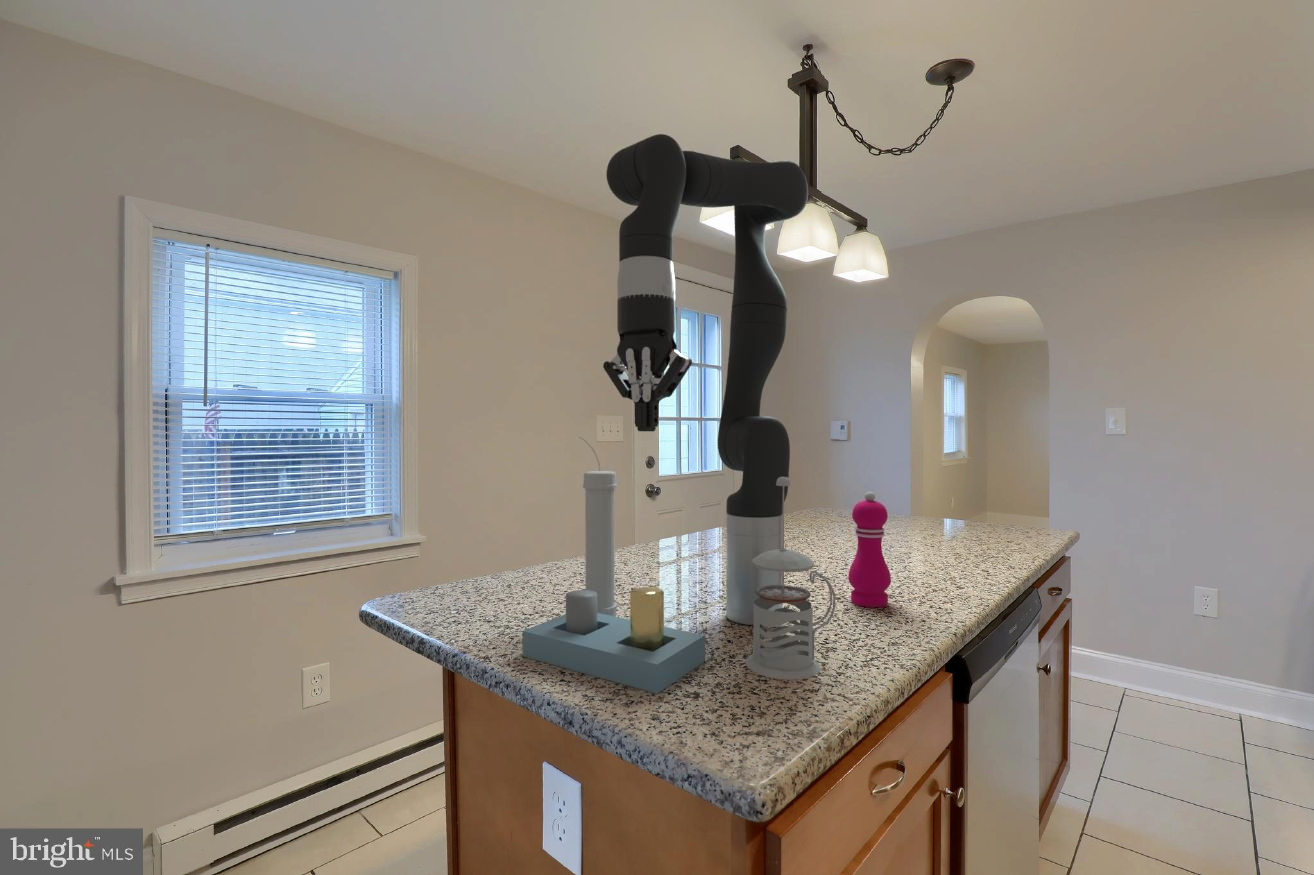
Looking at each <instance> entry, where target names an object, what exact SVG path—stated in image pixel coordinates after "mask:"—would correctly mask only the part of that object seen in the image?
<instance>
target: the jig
mask: <svg viewBox="0 0 1314 875" xmlns="http://www.w3.org/2000/svg"><path fill="white" fill-rule="evenodd" d="M522 657H524V658H527V657H528V659H532V660H534V659H535V660H534V661H538V662H542V663H546V664H549V665H552V666H556V667H561V668H563V669H568V670H570V671H575V672H577V673H582V674H585V675H589V676H592V677H595V678H599V679H603V680H606V681H610V682H613V683H618V684H621V685H625V686H628V687H631V688H635V689H638V690H642V691H646V692H650V693H654V694H657V695H658V694H659V693H661V692H662V691H664V690H665V689H667V688H668V687H669V686H671V685H672V684H674V683H675V682H677V681H678V680H680V679H681V678H683V677H684V676H685V675H687V674H689V673H690V672H691V671H693V670H695V668H697V667H698V666H700V665H702V664H703V663H704V662H706V634H701V633H695V632H692V631H686V630H683V629H676V628H673V627H667V626H664V646H662V647H661V648H659V649H657V650H655V651H654V652H651V651H647V650H643V649H639V648H634V647H630V618H624V617H619V616H616V617H615V616H610V615H605V614H600V613H597V593H596V592H594V591H590V590H586V589H576V590H572V591H569V592H566V593H565V614H563V615H559V616H558V617H555V618H552V619H549V620H548V621H545V622H542V623H538V624H537V625H535V626H532V627H529V628H527V629H524V630H522Z"/></svg>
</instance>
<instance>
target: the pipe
mask: <svg viewBox="0 0 1314 875" xmlns="http://www.w3.org/2000/svg"><path fill="white" fill-rule="evenodd" d="M578 438H579V439H581V440H582V441H583V442H585V443H586V444H587V445H588V447H590V448H591V450H592V452H593V453H594V456H595V458H596V461H597V464H598V469H599V470H591V471H585V472H583V484H582V489H585V492H584V493H585V494H584V496H585V501H584V503H585V506H584V507H585V512H584V513H585V516H584V517H585V518H584V519H585V521H584V522H585V523H584V524H585V526H584V527H585V532H584V533H585V590H590V591H594V592H596V593H597V613H600V614H605V615H610V616H615V617H617V609H618V603H617V602H615V489H618V485H617V474H616V471H611V470H610V471H609V470H601V465H600V461H599V458H598V457H599V456H598V455H597V453H596V451H595V448H593V447H592V445H591V444H590V443H589V442H588V441H587V440H586V439H585V438H583V437H581V436H579V437H578Z"/></svg>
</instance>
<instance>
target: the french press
mask: <svg viewBox="0 0 1314 875" xmlns="http://www.w3.org/2000/svg"><path fill="white" fill-rule="evenodd" d="M776 485H777V486H782V487H783V545H782V548H781V549H777V550H770V551H767V552H764V553H761V554H760V555H758V556H757V557H755V558H754V559H753V561H752V563H753V564H754V565H755V566H756V567H757V568H760V569H764V570H769V571H775V572H782V586H781V585H777V586H775V585H770V586H769V585H768V586H767V585H766V587H765V586H763V587H759V588H758V589H757V590H756V594H757V595H758V596H759V598H757V599H756V600H754V625H753V653H752V654H750V655H749V656H748V657H746V660H745V665H746V667H747V668H748V669H749V671H751V672H754V673H755V674H758V675H760V676H764V677H768V678H771V679H776V680H777V679H778V680H787V681H789V680H790V681H792V680H804V679H808V678H811V677H814V676H816V675H817V674H819V673H820V672H821V664H820V663H819V662H818V661H817V660H816V659H815V632H816V631H817V630H819V629H821V628H823V627H825V626H826V625H827V624H828V623H829V622H830V621H831V619H832V618H833V615H835V611H836V610H835V609H836V593H835V590H834V588H833V586H832V584H831V583H830V581H829V580H828V579H827V578H825V576H824V575H822V574H821V573H819V572H818V571H816V570H812V569H813V568H814V566H815V561H814V560H812V559H811V558H810V557H808V556H807V555H805V554H803V553H800V552H797V551H796V550H792V549H787V548H785V502H784V487H785V486H788V487H790V486H791V480H790V478H789V479H788V478H787V477H779V478H778V479H777V482H776ZM805 571H810V572H809V581H810V583H811V584H812V585H813V584H815V579H816V578H815V577H818V578H821V579H823V581H825V583H826V585H827V588H828V591H829V600H830V601H829V602H830V603H829V605H828V609H827V611H826V613H825V615H824V616H823V617H821V619H820V620H818V621H815V622H814V621H813V620H814V617H813V613H814V612H813V610H814V606H813V605H812V602H810V601H809V600H808V599H810V598H811V592H810V591H809V590H808V589H806V588H803V587H799V586H795V585H794V586H792V585H788V584H787V585H785V573H799V572H800V573H801V572H805ZM782 603H783V604H787V605H791V606H794V607H795V608H796V609H798V610H799V611H797V610H794V609H792V608H788V607H783V608H779V609H776V610H774V611H771V610H768V609H770V608H771V607H773V606H774V605H776V604H782ZM831 608H832V610H831ZM830 611H831V613H830ZM829 613H830V615H829ZM828 615H829V618H828ZM826 618H828V619H827V620H826V621H825V622H824V623H823V624H821V625H818V624H820V623H822V622H823V621H824V620H825V619H826ZM787 623H789V624H792V626H791V625H790V626H787V625H783V624H787ZM760 624H762V625H760ZM781 625H782V626H781ZM816 625H818V626H816ZM815 626H816V627H815ZM770 628H773V629H771V630H769V631H766V630H767V629H770ZM788 633H791V634H794V635H791V636H789V635H787V634H788ZM767 638H770V640H767V641H765V639H767Z"/></svg>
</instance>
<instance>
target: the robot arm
mask: <svg viewBox="0 0 1314 875" xmlns="http://www.w3.org/2000/svg"><path fill="white" fill-rule="evenodd" d="M605 177H606V181H607V186H608V187H609V190H610V191H611V193H613V195H614V196H615V197H616V198H617V199H618V200H619V201H621V202H623V203H625V204H626V205H630V206H633V207H636V208H635V209H634V210H633V211H632V212H631V213H630V214H629V215H627V216H626V217H624V218H623V220H622V221H621V223H620V225H619V226H620V227H619V232H618V234H619V235H618V238H619V239H618V240H619V241H618V245H619V246H618V247H619V248H618V250H619V252H618V255H619V257H618V258H619V260H618V261H619V264H618V272H617V273H618V274H617V282H616V283H617V286H616V288H617V289H616V292H617V296H616V297H617V301H616V302H617V306H616V307H617V308H616V309H617V310H616V314H617V316H616V317H617V320H616V321H617V324H616V325H617V327H616V328H617V333H618V335H619V342H618V345H617V349H616V353H617V354H616V355H615V356H614V357H613V358H612V359H611V360H610V361H608V360H607V361H605V362H604V363H602V364H603V366H602V367H603V369H604V371H605V372H606V374H607V376H608V377H609V379H610V380H611V382H612V383H613V385H614V386H615V388H616V389H617V391H618V392H619V394H620V397H622V398H623V399H625V398H626V399H629V400H631V401H632V402H633V403H634V425H635V426H634V427H636V429H637V431H638V432H655V431H656V428H658V425H659V422H660V421H659V418H660V417H659V411H660V410H659V404H660V401H661V400H663V399H665V398H671V397H672V396H673V393H674V392H675V391H676V389H677V387H678V386H679V384H680V383H681V381H682V380H683V379H684V377H685V375H686V374H687V372H688V371H689V369H690V367H691V366H692V364H693V360H692V358H690V357H687V356H685V355H683V354H682V353H680V352H679V351H678V349H677V348H678V346H677V343H676V341H675V337H674V333H675V331H676V277H675V271H674V270H675V269H674V229H675V226H676V222H677V219H678V215H679V210H680V206H681V205H682V206H683V205H684V206H689V207H698V208H706V209H707V208H724V207H726V208H728V207H733V210H734V212H733V214H734V216H733V217H734V218H733V219H734V250H735V251H734V275H733V291H732V292H733V294H732V301H731V302H732V303H731V312H730V327H729V349H728V359H727V369H726V370H727V371H726V372H727V373H726V384H725V391H724V397H723V402H722V409H721V415H720V420H719V425H718V430H717V431H718V433H717V450H718V455H719V458H720V461H722V463H723V464H724V465H725V467H727V468H728V469H731V470H732V471H737V472H742V478H741V480H742V481H741V485H740V487H739V489H737V491H736V492H734V493H731V494H729V495H728V496H727V498H726V508H725V509H726V516H725V517H726V521H725V522H726V527H725V528H726V529H725V530H726V545H725V546H726V549H725V550H726V566H725V567H726V571H725V572H726V575H725V576H726V577H725V578H726V579H725V581H726V583H725V584H726V587H725V588H726V589H725V590H726V594H725V596H726V598H725V599H726V600H725V602H726V604H725V605H726V606H725V607H726V608H725V609H726V613H725V617H727V619H729V621H732V622H734V623H737V624H741V625H748V626H750V625H751V626H754V600H756V599H757V598H759V596H758V595H757V594H756V590H757V589H758V588H759V587H763V586H765V587H766V585H767V586H768V585H769V586H770V585H775V586H777V585H781V586H782V572H775V571H769V570H764V569H760V568H757V567H756V566H755V565H754V564H753V563H752V561H753V559H754V558H755V557H757V556H758V555H760V554H761V553H764V552H767V551H770V550H777V549H781V548H782V545H783V487H782V486H777V485H776V482H777V479H778V478H779V477H787V478H788V479H789V480H790V478H789V476H790V475H789V473H790V463H791V462H790V458H791V457H790V456H791V447H790V437H789V433H788V431H787V429H786V427H785V425H784V424H783V423H782V422H781V421H780V420H779V419H777V418H775V417H773V416H761V415H760V414H761V412H760V411H761V403H762V402H761V401H762V396H763V395H762V394H763V390H764V387H765V385H766V381H767V380H768V378H769V375H770V373H771V371H772V369H773V367H774V365H775V364H776V362H777V359H778V358H779V355H780V353H781V351H782V349H783V345H784V342H785V338H786V332H787V320H788V319H787V317H788V298H787V294H786V292H785V289H784V288H783V285H782V282H780V279H779V278H778V276H777V274H776V273H775V271H774V269H773V268H772V265H771V264H770V261H769V259H768V257H767V254H766V246H765V245H766V244H765V242H766V241H765V235H766V227H767V226H768V225H770V224H774V223H779V222H784V221H787V220H790V219H793V218H795V217H797V216H798V215H799V214H801V213H802V212H803V211H804V209H805V207H806V206H807V203H808V200H809V185H808V181H807V177H806V175H805V172H804V171H803V170H802V168H801V167H800V166H799V165H798V164H797V163H795V162H793V161H790V160H780V161H779V160H778V161H771V162H768V161H767V162H762V161H761V162H759V161H745V160H738V159H730V158H726V157H725V158H724V157H719V156H714V155H711V154H707V153H702V152H698V151H693V150H682V148H681V146H680V144H679V143H678V142H677V141H676V140H675V138H673V137H672V136H670V135H668V134H664V133H663V134H662V133H659V134H655V135H651V136H648V137H647V138H644V139H642V140H640V141H637V142H636V143H633V144H631V145H629V146H626V147H624V148H622V149H620V150H618V151H617V152H616V153H614V154H613V156H612V157H611V158H610V160H609V161H608V164H607V167H606V176H605ZM667 367H668V368H667ZM666 369H667V370H666ZM626 371H627V372H628V373H626ZM788 491H789V486H785V487H784V503H785V501H786V499H787V496H788ZM783 605H784V603H782V604H776V605H774V606H773V607H771V608H770V609H768V610H771V611H774V610H776V609H779V608H784V607H783ZM760 626H763V625H762V624H760Z"/></svg>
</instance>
